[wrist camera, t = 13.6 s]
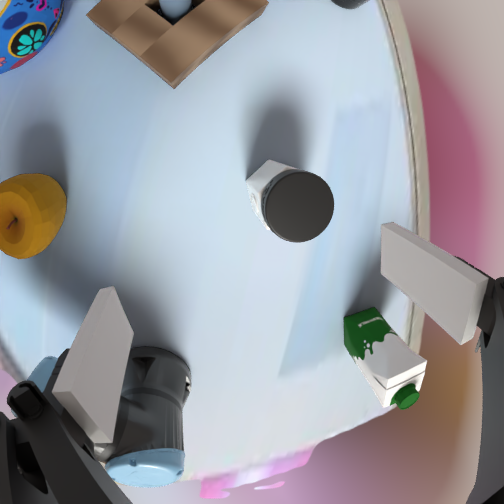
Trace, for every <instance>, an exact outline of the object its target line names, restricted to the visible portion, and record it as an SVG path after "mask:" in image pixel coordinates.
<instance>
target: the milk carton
mask: <svg viewBox="0 0 504 504" xmlns="http://www.w3.org/2000/svg"><path fill="white" fill-rule="evenodd" d="M344 345H345V347H346V348H347V350H348V352H349V354H350V355H351V357H352V358H353V360H354V361H355V363H356V364H357V366H358V367H359V369H360V370H361V372H362V374H363V375H364V377H365V378H366V380H367V381H368V383H369V384H370V386H371V387H372V389H373V391H374V392H375V394H376V396H377V398H378V399H379V401H380V403H381V405H382V407H383V408H385V407H387V406H389V405H392V404H394V403H396V404H397V406H398V407H399V408H400V409H402V410H404V409H407V408H409V407H410V406H412V405H413V404H414V403H415V402H416V401H417V400H418V398H419V393H418V391H419V390H420V386H421V383H422V380H423V376H424V374H425V367H426V363H427V360H425V359H424V358H422V357H421V356H419V355H418V354H416V353H415V352H413V351H412V350H411V349H410V348H409V347H408V346H407V344H406V343H405V342H404V341H403V340H402V339H401V338H400V337H399V336H398V334H397V333H396V332H395V331H394V330H393V329H392V328H391V327H390V326H389V324H388V323H387V322H386V321H385V319H384V318H383V317H382V316H381V314H380V313H379V312H378V310H377V309H376V308H375V307H373V308H370V309H367V310H365V311H362V312H359V313H356V314H353V315H350V316H347V317H344Z"/></svg>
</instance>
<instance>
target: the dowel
mask: <svg viewBox="0 0 504 504" xmlns="http://www.w3.org/2000/svg"><path fill="white" fill-rule="evenodd" d="M159 2H160V6H161V10H162V14H163V17H164V19H165V20H166V21H168V22H169V23H170V24H171V25H175V24H176V23H177V22H178V21H179V20H181V19H182V18H183V17H184V16H186V15H187V14H188V13H189V12H191V11H192V6H191V0H159Z"/></svg>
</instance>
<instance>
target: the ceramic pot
mask: <svg viewBox="0 0 504 504" xmlns="http://www.w3.org/2000/svg"><path fill="white" fill-rule="evenodd" d="M63 5H64V0H0V74H2V73H4V72H7V71H9V70H12V69H14V68H17V67H19V66H21V65H22V64H24V63H25V62H27V61H28V60H30V59H31V58H33V57H34V56H35V55H36V54H37V53H38V52H39V51H40V50H41V49H42V48H43V47H44V46H45V45H46V44H47V43H48V41H49V40H50V39H51V37H52V35H53V34H54V32H55V30H56V28H57V26H58V24H59V22H60V20H61V17H62V14H63Z"/></svg>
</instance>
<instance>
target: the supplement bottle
mask: <svg viewBox="0 0 504 504" xmlns="http://www.w3.org/2000/svg"><path fill="white" fill-rule="evenodd" d="M331 1H332V2H333V3H335V4H336V5H338V6H340V7H342V8H346V9H355V8H358V7H359V6H361V5H363V4H364V3H366V2H368V1H369V0H331Z"/></svg>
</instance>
